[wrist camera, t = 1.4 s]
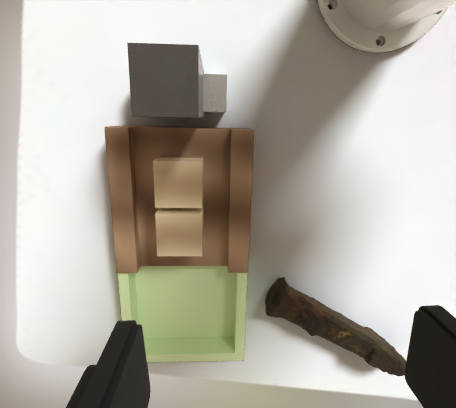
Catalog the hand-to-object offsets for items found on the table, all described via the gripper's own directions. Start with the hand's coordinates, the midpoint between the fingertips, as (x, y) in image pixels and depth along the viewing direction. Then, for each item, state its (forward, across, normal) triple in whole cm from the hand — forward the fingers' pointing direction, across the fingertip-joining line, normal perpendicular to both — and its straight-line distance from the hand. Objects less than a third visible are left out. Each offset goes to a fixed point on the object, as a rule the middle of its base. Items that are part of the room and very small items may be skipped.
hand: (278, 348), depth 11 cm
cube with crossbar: (+23, +5, -9) cm, 25 cm away
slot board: (+23, +6, +1) cm, 23 cm away
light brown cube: (+21, +5, -2) cm, 22 cm away
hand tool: (+23, -12, +16) cm, 31 cm away
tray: (+23, +6, +13) cm, 27 cm away
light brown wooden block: (+21, +6, +3) cm, 22 cm away
